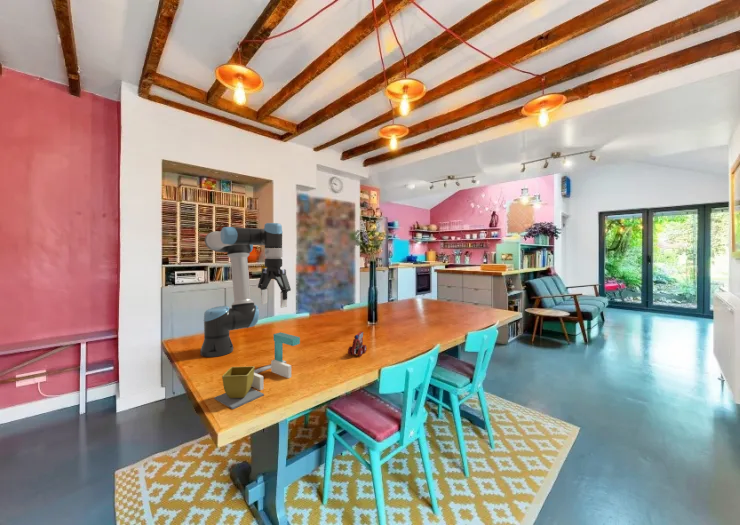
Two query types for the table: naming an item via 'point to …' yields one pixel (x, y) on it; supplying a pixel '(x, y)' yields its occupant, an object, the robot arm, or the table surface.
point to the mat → (239, 399)
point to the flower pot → (238, 381)
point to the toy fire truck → (357, 345)
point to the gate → (285, 339)
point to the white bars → (275, 367)
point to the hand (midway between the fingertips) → (273, 305)
